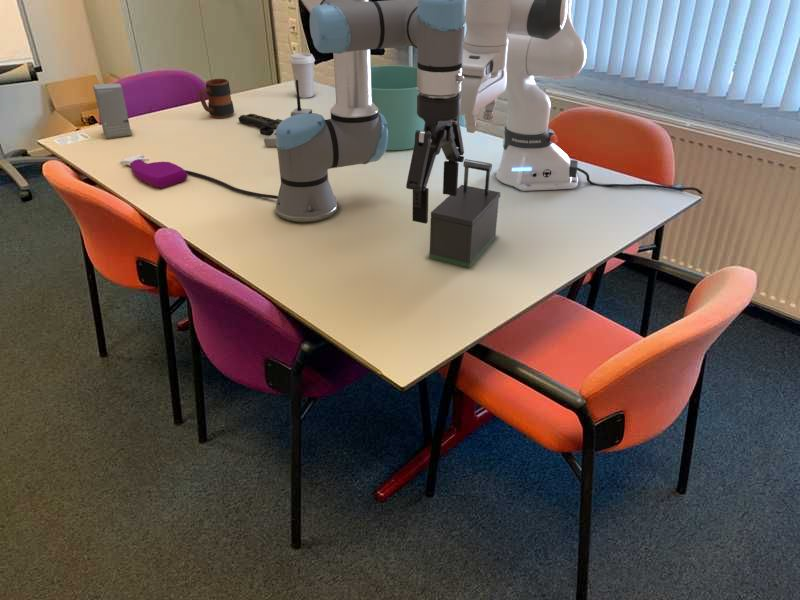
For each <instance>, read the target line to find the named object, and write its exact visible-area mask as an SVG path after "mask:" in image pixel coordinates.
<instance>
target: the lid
mask: <svg viewBox="0 0 800 600" xmlns="http://www.w3.org/2000/svg"><path fill="white" fill-rule="evenodd" d="M462 164H463V167H464V175H463V184H461V185H460V186H458V187H457V195H456V196H452V195H448V196H447V197H446V198H445V199H444V200H443V201H442V202H441V203H439V204H438V205H437V206H436V207H435V208H434V209H433V210H431V212H430V218H431V217H433V218H437V219H442V220H446V221H451V222H455V223H460V224H464V225H469V226H473V225H474V224H475V223H476V222H477V221H478V220H479V219H480V217H481V216H482V215H483V214H484V213H485V212H486V211H487V210H488V209H489V208H490V207H491V206H492V205H493V204H494V203H495V202H496V201H497V200H498V199H499V200H500V198H501V191H496V190H491V189H490V178H491V171H492V170H493V164H492V163H489V162H484V161H478V160H474V159H468V158H464V161H463V162H462ZM469 169H472V170H478V171H484V172H485V182H484V183H485V184H484V188H481V187H475V186H470V185H468V183H469V171H470V170H469Z"/></svg>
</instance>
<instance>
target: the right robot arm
mask: <svg viewBox="0 0 800 600" xmlns="http://www.w3.org/2000/svg"><path fill="white" fill-rule="evenodd" d="M572 2H573V0H466V1H465V19H466V22H465V27H466V29H465V33H464V46H463V62H462V75H463V76H464V80H463V81H461V91H460V92H459V94H460V96H461V107H460V115H459V116H464V119H465V123H466V132H467V133H471V134H474V133H476V131H478V122H477V116H478V113H479V112H480V111H481V110H483V109H484V108H485V109H484V110H483V120H485V121H491V120H492V119H494V114H495V109H496V106H497V103H498V98H500V97H501V96H502V95H504V94H505V93H506V97H507V98H506V99H507V114H506V115H507V116H506V125H505V127H504V131H503V135H502V136H503V137H502V148H503V149H502V151H503V152H502V154H501V159H500V162H499V167H498V169H497V172H496V175H495V177H496V180H498V181H499V182H501V183H502V184H504V185H507V186H511V187H515V189H517V190H519V191H522V192H529V191H530V192H531V191H550V190H551V191H552V190H572V189H576V188H577V186H578V184H579V178H578V175H577V172H580V173H582V174H584V175H585V177H586V181H587V183H588V184H590V185H592V186H597V187H599V186H600V187H605V188H611V187H612V188H614V187H615V188H616V187H618V188H619V187H620V188H631V187H632V188H633V187H634V188H635V187H645V188H646V187H647V188H648V187H649V188H660V189H667V190H674V191H695V192H697V193H698V194H699V195H704V192H703V191H702V190H701V189H700V188H697V187H692V186H689V187H678V186H669V185H664V184H663V185H662V184H654V183H653V184H652V183H608V184H607V183H606V184H605V183H604V184H602V183H601V184H600V183H596V182H594V181H591V180H590V175H589V173H588V172H587V171H586V170H584V169H582V168H579V167H578V165H579V163H578V162H579V160H575V159H570V157H569V155H568V154H567V153H566V152H565V151H564V150H563V149H561V148H560V147H559V146H558V145H557V143H558V141H559V138H558V135H557V134H555V131H554V130H553V129H552V127H551V128H549V121H550V114H551V107H552V104H551V99H550V97H549V95H548V94H547V93H546V92H545V91H544V90H542V89H541V87H539V86H538V84H537V83H536V81H535V78H544V79H547V80H548V79H549V80H567V79H568V80H569V79H570V80H571V79H574V78H576V77H577V76H578V75H579V74H580V73H581V71H582V70H583V68H584V66H585V65H586V61H587V47H586V44H585V42H584V40H583V39H582V38H581V37H580V35H579V34H578V33H577V31H576V29H575V27H574V23H573V20H572V4H573V3H572Z"/></svg>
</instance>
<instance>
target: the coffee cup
mask: <svg viewBox="0 0 800 600" xmlns="http://www.w3.org/2000/svg"><path fill="white" fill-rule="evenodd" d="M315 62H316V59H315V56H314V55H313V54H312V53H309V52H297V53H292V54H291V56H290V57H289V63H290V64H291V70H292V75H293V81H294V87H295V93H296V95H297V89H296V80H298V87H299V97H300V99H302V98H303V99H307V98H311V97H314V95H315V92H314V91H315V90H314V86H315V85H314V84H315Z"/></svg>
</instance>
